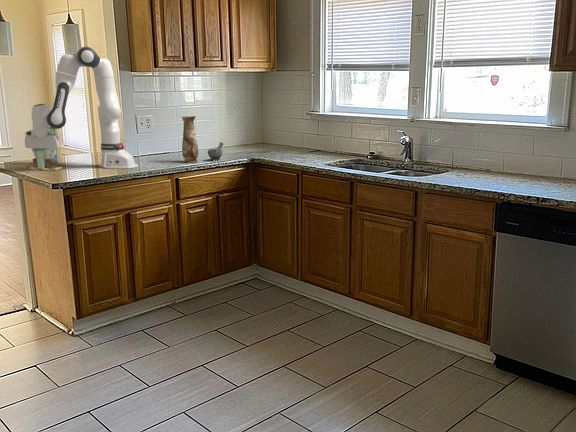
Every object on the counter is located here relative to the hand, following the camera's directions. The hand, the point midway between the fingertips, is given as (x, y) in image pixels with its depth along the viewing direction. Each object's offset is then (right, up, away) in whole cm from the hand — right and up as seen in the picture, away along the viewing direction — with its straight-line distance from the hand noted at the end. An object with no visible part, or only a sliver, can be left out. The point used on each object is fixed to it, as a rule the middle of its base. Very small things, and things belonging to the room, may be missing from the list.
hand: (43, 156), depth 333 cm
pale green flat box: (0, -6, +2) cm, 7 cm away
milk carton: (-7, -3, +22) cm, 23 cm away
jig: (0, -7, +2) cm, 8 cm away
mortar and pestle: (+95, +2, +48) cm, 106 cm away
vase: (+79, 0, +38) cm, 88 cm away
